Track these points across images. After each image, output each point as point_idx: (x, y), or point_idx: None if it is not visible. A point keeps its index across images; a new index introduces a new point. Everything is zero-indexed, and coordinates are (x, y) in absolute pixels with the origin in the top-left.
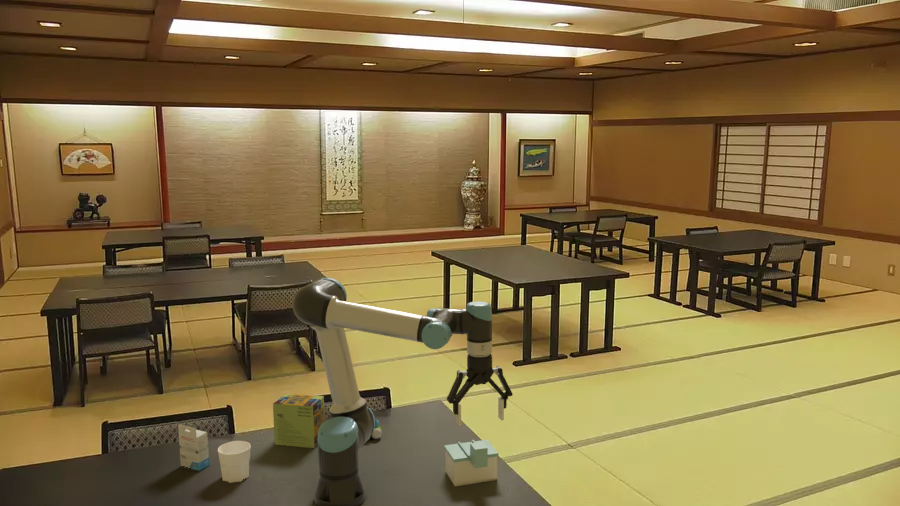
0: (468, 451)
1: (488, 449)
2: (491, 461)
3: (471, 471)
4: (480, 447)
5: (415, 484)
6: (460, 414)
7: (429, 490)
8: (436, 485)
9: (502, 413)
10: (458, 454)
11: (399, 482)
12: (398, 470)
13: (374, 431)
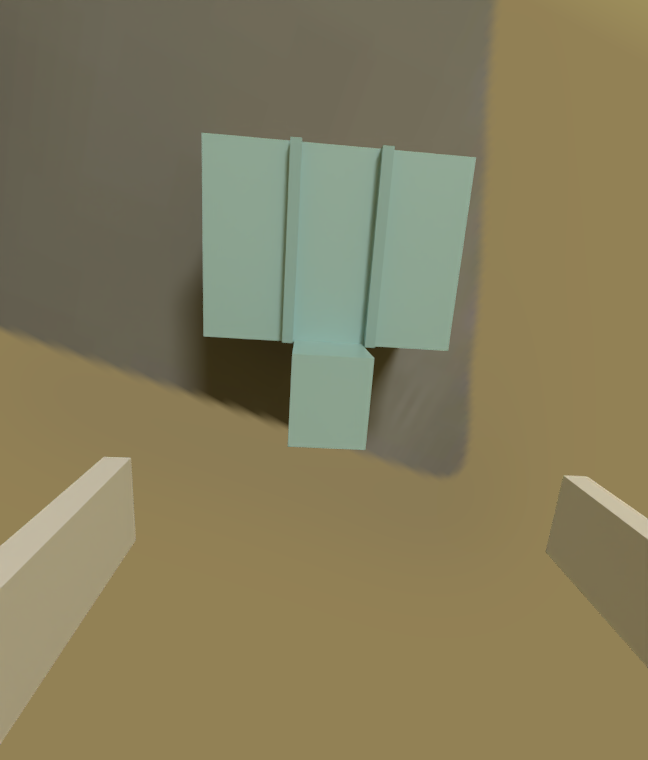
0: (310, 272)
1: (421, 290)
2: None
3: None
4: (329, 430)
5: (85, 243)
6: (56, 644)
7: (132, 312)
8: (168, 283)
9: (604, 605)
10: (245, 288)
11: (19, 199)
12: (26, 74)
13: None
